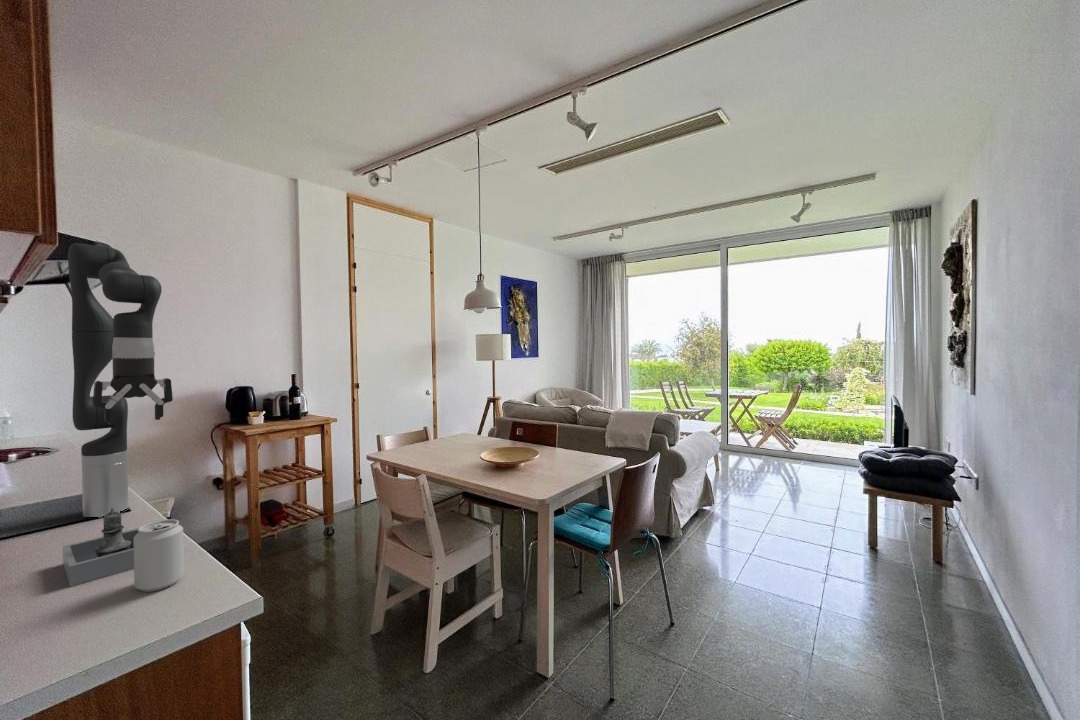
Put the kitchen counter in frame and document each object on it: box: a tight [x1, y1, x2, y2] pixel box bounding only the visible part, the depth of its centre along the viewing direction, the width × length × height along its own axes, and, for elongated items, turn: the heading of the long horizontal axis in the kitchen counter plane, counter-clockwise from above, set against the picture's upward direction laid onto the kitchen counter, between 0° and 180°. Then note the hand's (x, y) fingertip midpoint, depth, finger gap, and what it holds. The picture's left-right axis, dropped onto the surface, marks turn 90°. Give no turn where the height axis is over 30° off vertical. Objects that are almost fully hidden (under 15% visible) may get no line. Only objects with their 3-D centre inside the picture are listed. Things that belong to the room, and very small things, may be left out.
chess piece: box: [94, 508, 131, 558], centre depth 96 cm, size 6×6×12 cm
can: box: [133, 519, 185, 593], centre depth 88 cm, size 8×8×12 cm
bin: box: [62, 527, 140, 587], centre depth 96 cm, size 14×14×4 cm
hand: (134, 421), depth 108 cm, fingers open, 8 cm apart
